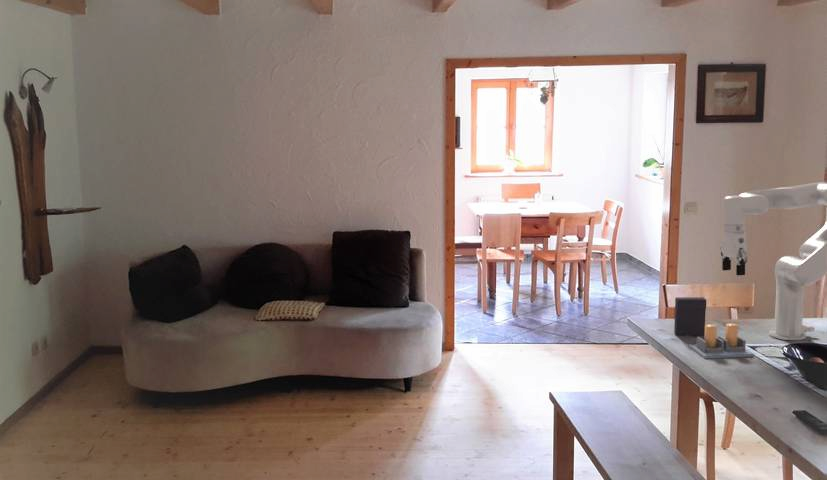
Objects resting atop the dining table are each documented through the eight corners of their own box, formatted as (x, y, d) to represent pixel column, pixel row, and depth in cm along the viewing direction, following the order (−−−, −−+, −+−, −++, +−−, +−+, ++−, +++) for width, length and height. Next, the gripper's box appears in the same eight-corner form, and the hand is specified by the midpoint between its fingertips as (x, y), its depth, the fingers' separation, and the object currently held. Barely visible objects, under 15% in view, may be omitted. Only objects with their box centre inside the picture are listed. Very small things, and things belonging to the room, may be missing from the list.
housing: (735, 345, 263) (736, 319, 262) (753, 356, 251) (755, 329, 249) (688, 347, 263) (689, 321, 261) (704, 358, 250) (705, 331, 248)
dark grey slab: (701, 333, 280) (703, 296, 278) (705, 336, 276) (706, 299, 273) (673, 333, 281) (674, 296, 279) (676, 336, 277) (677, 299, 274)
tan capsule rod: (733, 346, 259) (734, 323, 258) (739, 350, 255) (740, 326, 254) (723, 347, 259) (724, 323, 257) (728, 350, 255) (729, 326, 253)
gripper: (756, 230, 256) (755, 276, 259) (730, 224, 273) (730, 267, 276) (737, 232, 256) (736, 278, 258) (712, 226, 273) (712, 269, 275)
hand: (733, 272), depth 267 cm, fingers open, 9 cm apart
